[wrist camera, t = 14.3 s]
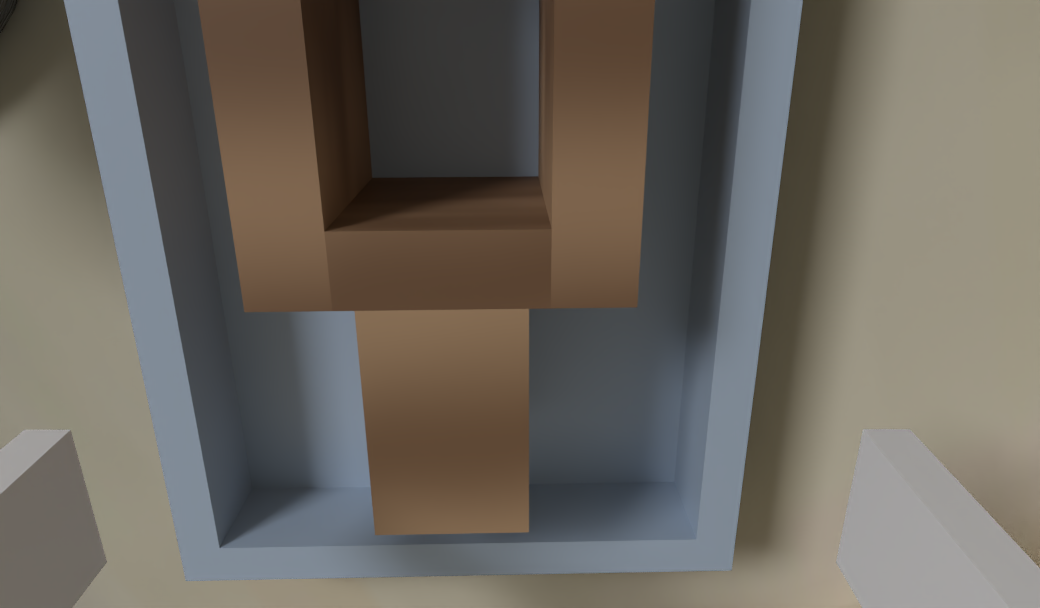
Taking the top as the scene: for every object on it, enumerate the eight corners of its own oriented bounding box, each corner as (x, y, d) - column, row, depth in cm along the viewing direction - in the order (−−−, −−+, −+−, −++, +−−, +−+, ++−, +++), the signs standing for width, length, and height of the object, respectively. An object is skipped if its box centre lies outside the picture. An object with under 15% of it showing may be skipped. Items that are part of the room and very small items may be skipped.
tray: (794, -406, 14) (867, -515, 11) (701, 499, 21) (731, 570, 19) (65, -412, 14) (-48, -527, 11) (227, 508, 21) (185, 580, 18)
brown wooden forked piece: (255, -280, 14) (131, -436, 9) (620, -279, 14) (679, -429, 10) (331, 416, 20) (278, 537, 15) (595, 412, 20) (624, 531, 15)
